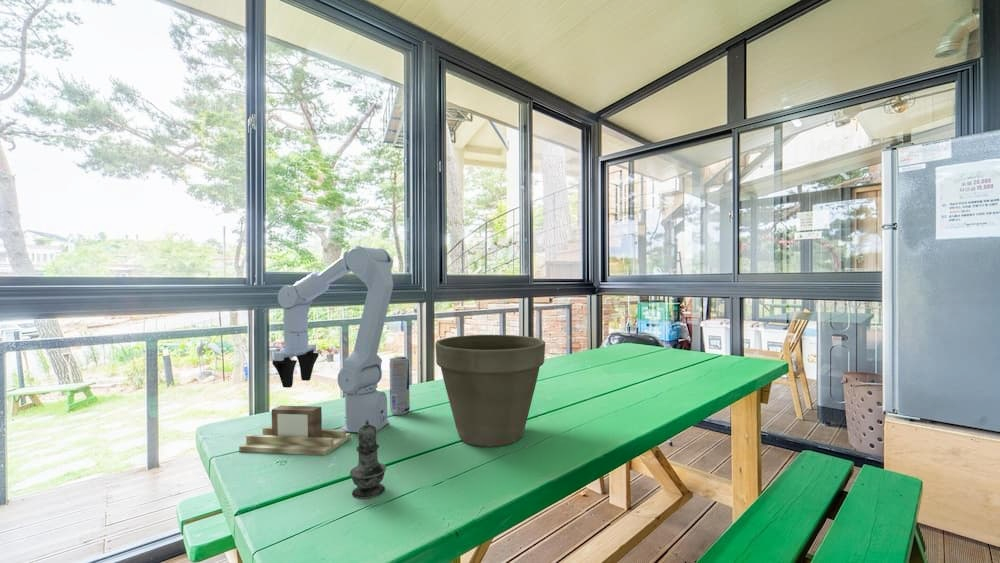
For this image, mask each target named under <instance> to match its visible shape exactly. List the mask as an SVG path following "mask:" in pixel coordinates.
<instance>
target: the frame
mask: <svg viewBox="0 0 1000 563" xmlns="http://www.w3.org/2000/svg"><path fill="white" fill-rule="evenodd" d="M322 412H323V411H322V406H314V405H313V406H311V405H309V406H308V405H304V406H303V405H279V406H276V407H274V408H272V409H271V427H272V435H274V436H297V437H321V438H322V429H323V428H322V427H323V426H322V424H323V423H322V422H323V420H322V419H323V418H322V417H323V416H322V415H323V414H322Z"/></svg>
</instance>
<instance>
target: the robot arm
mask: <svg viewBox="0 0 1000 563" xmlns="http://www.w3.org/2000/svg"><path fill="white" fill-rule="evenodd" d="M393 265H394V260H393V258H392V257H391V255H390V254H389V252H388V251H387V250H385V249H384V248H375V247H363V246H360V245H355V246H352V247H351V248H349V249H347V250H345V251H343V255H341V257H339V258H338V259H337V260H336V261H334V262H333V263H331V264H330V265H329V266H327V267H326V268H325V269H324V270H322V271H321V272H320V271H309V272H307V275H306V276H305V277H303V278H302V279H300V280H296V281H295V282H294V284H293V285H283V286H282V287H281V288H280V289H279V291H278V294H277V301H278V304H279V306H280V307H281V308H283V309H282V310H283V348H280V350H279V351H276V352H274V353H273V359H272V360H271V361H272V365H273V367H274V368H275V369H276V371H277V373H278V375H279V376H278V377H279V378H280V382H281V385H282V388H286V389H287V388H292V387H293V383H294V373H295V372H294V371H295V368H296V365H297V362H298V364H299V370H300V371H299V372H300V378H301V381H311V378H312V372H313V370H314V366H315V363H316V361H317V359H318V358H319V356H320V355H319V352H317V344H309V324H308V322H309V319H308V318H309V316H308V314H309V312H310V306H311V304H312V303H313V300H314V299H315V298H317V297H319V296H320V295H322V294H324V293H325V292H327V291H328V290H329V288H330V284H331V283H333V282H335V281H336V280H338V279H340V278H342V277H344V276H346V275H347V274H349V273H352V274H354V275H355V276H356V277H357V278H359V279H360V280H361V282H362V283H364V285H365V286H366V288H367V293H366V298H365V302H364V305H363V310H362V314H361V317H360V318H361V319H360V323H359V327H358V331H357V334H356V339H355V344H354V348H353V349H354V350H352V352H351V354H350V355H349V356H347V358H345V360H344V363H343V365H342V368H341V369H340V370H339V372H338V374H337V385H338V387H339V389H340V390H341V391H342V394H343V395H344V396H345V397H344V401H345V402H344V404H345V407H344V408H345V413H344V414H345V425H343V426H342V427H340V428H339V429H337V430H346V433H358V432H359V429H360V428H361V427H362V426H364V425H366V423H365V422H366V421H367V420H368V421H369V424H370V425H373V426H374V427H375V428H376V433H377V432H378V431H380V430H382V428H384V426H386V425H388V424H389V422H390V421H389V420H388V397H387V394H386V392H384V391H380V390H378V389H377V388H378V383H379V382H381V380H382V377H383V371H382V362H383V359H382V358H381V357H380V356H379V355H378V350H379V346H380V342H381V339H382V334H383V329H384V326H385V323H386V322H385V321H386V317H387V314H388V310H389V305H390V301H391V296H392V293H393V290H394V289H393V288H394V280H393V273H392V269H393ZM294 357H296V359H293V360H292V359H291V358H294Z"/></svg>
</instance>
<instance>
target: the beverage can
mask: <svg viewBox="0 0 1000 563" xmlns="http://www.w3.org/2000/svg"><path fill="white" fill-rule="evenodd" d="M389 399H390V400H389V401H390V402H389V403H390V404H389V405H390V413H392V415H394V416H405V415H406V414H408V412H410V409H411V407H410V406H411V400H410V399H411V398H410V361H409V357H407V356H395V357H390V358H389Z"/></svg>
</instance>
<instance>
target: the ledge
mask: <svg viewBox="0 0 1000 563" xmlns="http://www.w3.org/2000/svg"><path fill="white" fill-rule="evenodd" d="M245 439H246V440H245V441H246V442H245V443H244V444H241V445H239V446H238V450H239V452H243V453H244V452H245V453H246V452H247V453H249V452H250V453H266V454H267V453H269V454H284V455H285V454H287V455H288V454H289V455H307V456H308V455H309V456H327V455H328V454H330V453H331V452H332V451H335V449H337V448H339V447H340V446H341V445H342V444H344V443H345V442H347V441H349V440H350V439H351V432H346V430H338V429H336V428H335V429H329V428H328V429H327V428H322V438H321V437H297V436H274V435H272V426H264V427H263V428H262V434H247V435H246V436H245Z"/></svg>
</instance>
